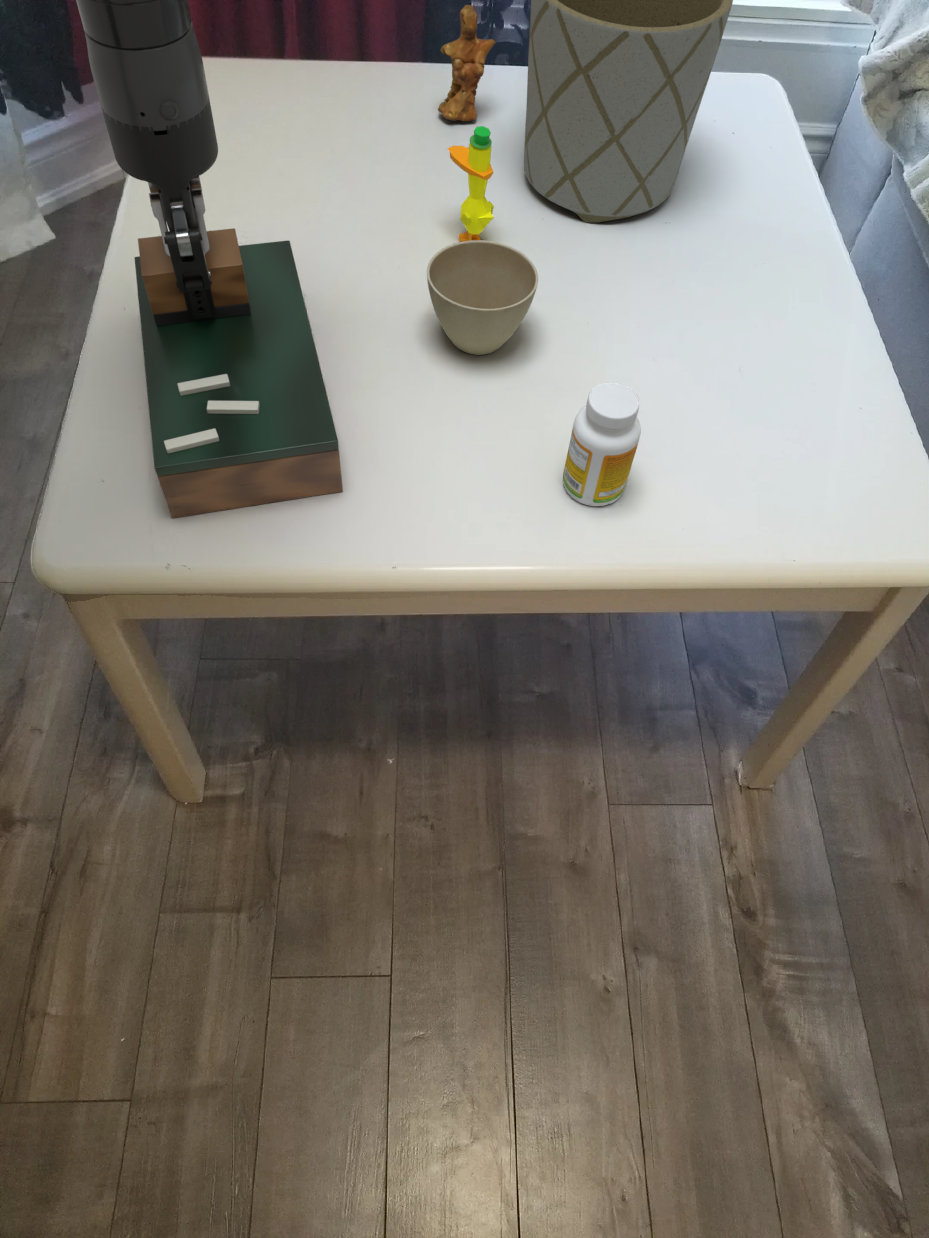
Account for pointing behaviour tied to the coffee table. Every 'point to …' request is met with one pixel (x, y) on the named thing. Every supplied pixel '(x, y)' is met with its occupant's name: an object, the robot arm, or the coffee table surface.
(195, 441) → the chalk stroke
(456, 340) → the flower pot
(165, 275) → the eraser
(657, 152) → the planter
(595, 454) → the supplement bottle
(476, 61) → the figurine
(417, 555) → the coffee table surface
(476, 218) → the toy figure
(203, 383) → the chalk stroke
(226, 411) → the chalk stroke
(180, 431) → the chalkboard
